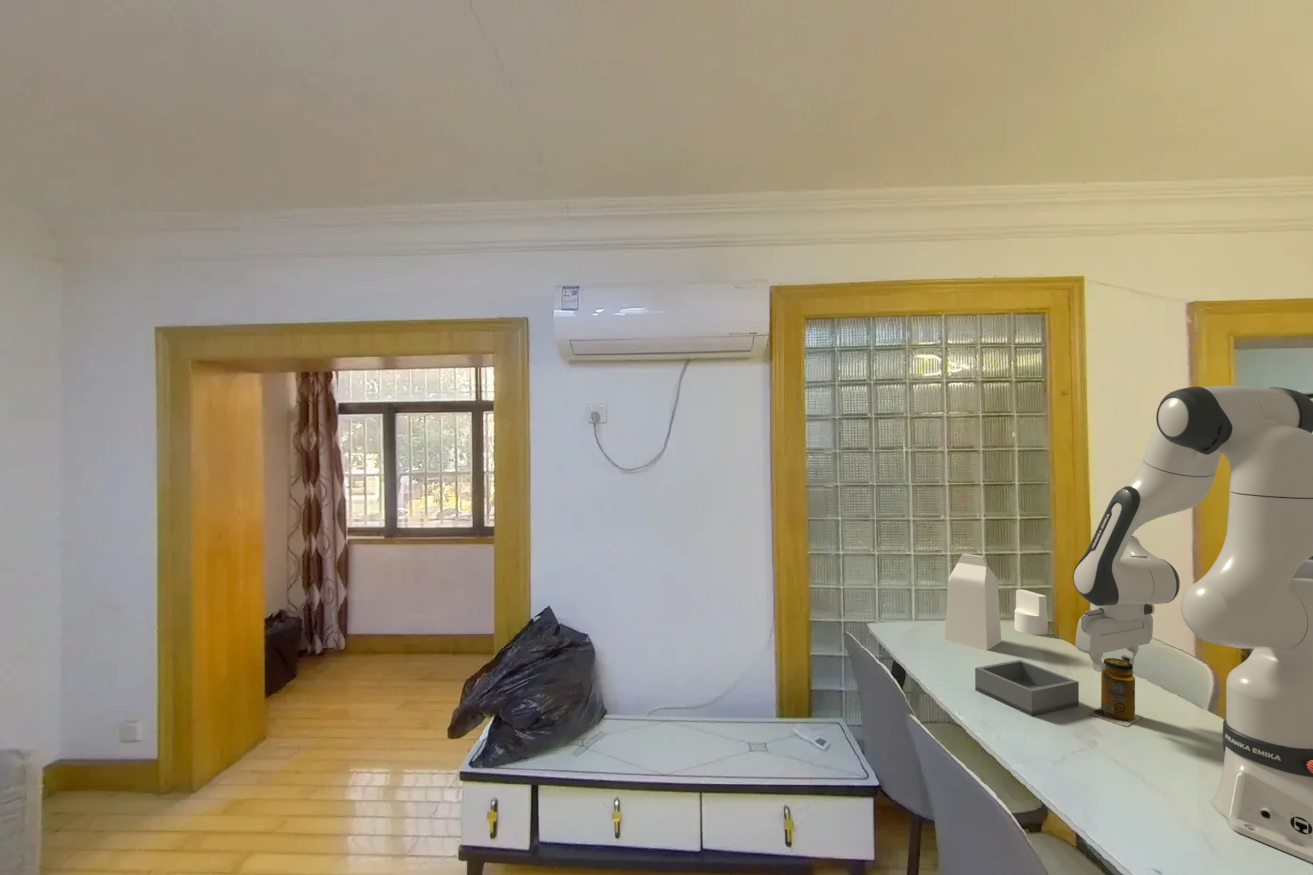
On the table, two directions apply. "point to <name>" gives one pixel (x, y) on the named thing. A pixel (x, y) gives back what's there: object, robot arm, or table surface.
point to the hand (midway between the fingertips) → (1113, 667)
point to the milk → (973, 604)
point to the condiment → (1117, 693)
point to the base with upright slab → (1031, 613)
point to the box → (1027, 687)
